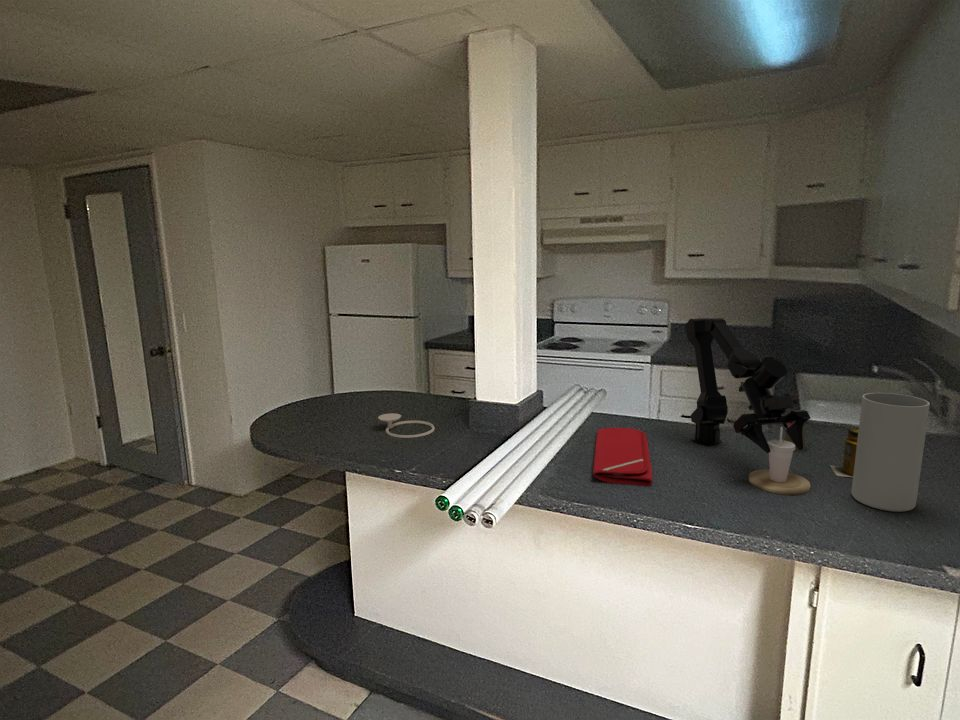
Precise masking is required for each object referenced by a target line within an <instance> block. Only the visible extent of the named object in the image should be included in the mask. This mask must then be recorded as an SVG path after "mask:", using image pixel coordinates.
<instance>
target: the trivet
mask: <svg viewBox="0 0 960 720" xmlns="http://www.w3.org/2000/svg"><path fill="white" fill-rule="evenodd" d="M748 482H749V483H750V484H751V485H752V486H754V487H755V488H756V489H759V490H763V491H764V492H769V493H772V494H776V495H783V496H785V495H786V496H797V495H798V496H799V495H804V494H807V493H809V492H810V489H811V483H810V481H809V480H808V479H806V478H805V477H804V476H801V475H800V474H799V475H798V474H795V473H793V472H789V471H788V475H787V480H786V482H776V481H773V480H771V479H770V468H768V469H757V470H754V471H753V470H752V471H751V472H750V473H749V474H748Z"/></svg>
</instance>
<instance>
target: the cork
mask: <svg viewBox="0 0 960 720" xmlns="http://www.w3.org/2000/svg"><path fill="white" fill-rule="evenodd" d="M790 412H791V411H789V412H788V413H787V414H789V413H790ZM805 432H806V431H805V424H804V425H803V428H802V438H803V449H802V450H799V449H798V448H797V447H796V445H795V450H794V451H797V452H802V451H805V450H806V436H805V435H806V434H805ZM783 440H784V441H789V442H791V443H793V444H794V442H793V441H792V440H791V438H790V437H789V435H788V434H787V432H786V431H785V434H784V439H783ZM794 451H793V452H794Z"/></svg>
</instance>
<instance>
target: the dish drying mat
mask: <svg viewBox="0 0 960 720" xmlns="http://www.w3.org/2000/svg"><path fill="white" fill-rule="evenodd" d="M595 440H596V441H595V448H594V457H593V471H592V472H593V474H592V475H593V476H594V478H595V479H598V480H599V481H601V482H604V483H608V484H620V485H634V486H645V487H651V486H652V485H653V470H652V462H651V456H650V455H651V454H650V451H649V449H650V448H649V442H648V437H647V434H646V432H644V431H642V430H639V429H636V428H632V427H631V428H630V427H604V428H600V429H598V430H597V431H596V439H595Z"/></svg>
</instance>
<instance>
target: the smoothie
mask: <svg viewBox="0 0 960 720" xmlns="http://www.w3.org/2000/svg"><path fill="white" fill-rule="evenodd" d="M779 429H780V430H779V438H778V439H770V440H767V443H768V445H769V448H770V453H768V462H769V465H768V466H769V467H768V469H770V479H771V480H773V481H776V482H786V480H787V475H788V472H789V471H790V466H791V463H792V459H793V455H794V453H793V452H794V450H795V444H793V443H791V442H789V441H784V439H783V433H784V430H783V429H784V425H783V426H782V425H781V426H780V428H779Z"/></svg>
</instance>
